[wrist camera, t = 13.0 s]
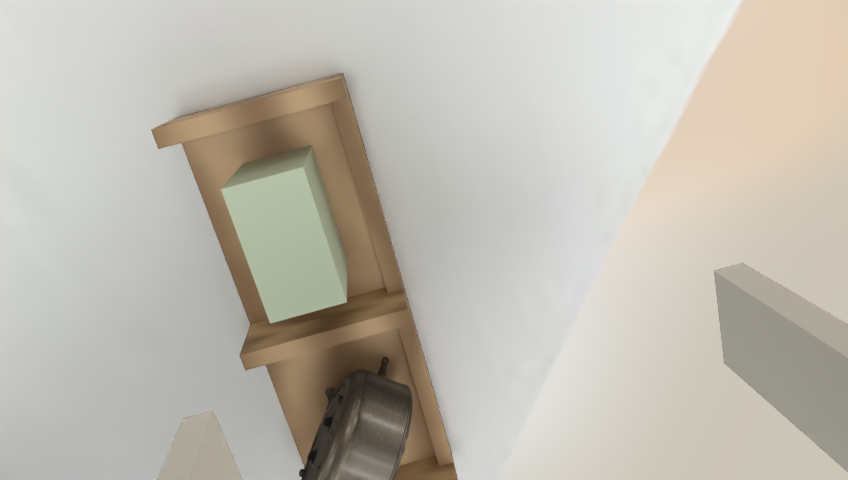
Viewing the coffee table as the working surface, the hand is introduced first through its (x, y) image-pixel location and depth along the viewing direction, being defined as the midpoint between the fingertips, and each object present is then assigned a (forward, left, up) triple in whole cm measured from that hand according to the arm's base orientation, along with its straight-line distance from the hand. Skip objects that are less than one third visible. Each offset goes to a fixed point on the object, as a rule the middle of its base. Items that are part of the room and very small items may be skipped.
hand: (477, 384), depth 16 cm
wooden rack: (-8, -10, -33) cm, 35 cm away
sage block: (-8, -2, -31) cm, 33 cm away
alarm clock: (-9, -18, -32) cm, 37 cm away
